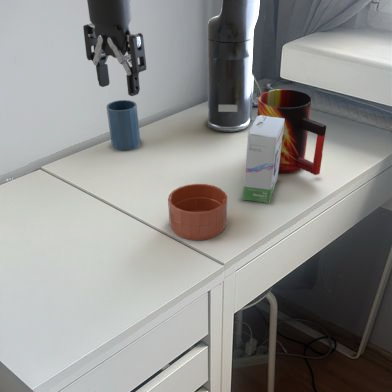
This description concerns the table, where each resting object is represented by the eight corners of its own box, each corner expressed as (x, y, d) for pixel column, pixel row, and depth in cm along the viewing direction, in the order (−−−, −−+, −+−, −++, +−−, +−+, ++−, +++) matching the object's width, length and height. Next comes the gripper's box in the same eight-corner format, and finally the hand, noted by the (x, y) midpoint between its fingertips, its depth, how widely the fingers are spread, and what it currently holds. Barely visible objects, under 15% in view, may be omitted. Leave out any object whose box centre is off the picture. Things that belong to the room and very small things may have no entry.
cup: (127, 136, 110) (122, 97, 104) (146, 143, 107) (142, 104, 102) (106, 145, 107) (100, 106, 101) (125, 153, 104) (120, 113, 98)
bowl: (196, 205, 89) (195, 178, 85) (237, 223, 84) (239, 195, 81) (158, 227, 84) (155, 199, 80) (200, 247, 79) (200, 219, 76)
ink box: (251, 178, 95) (255, 113, 87) (278, 181, 94) (285, 116, 86) (241, 200, 89) (245, 133, 81) (270, 204, 88) (277, 136, 80)
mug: (317, 181, 94) (327, 115, 85) (247, 168, 98) (250, 104, 89) (330, 160, 100) (341, 96, 91) (264, 149, 104) (268, 86, 96)
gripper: (151, -8, 86) (158, 93, 98) (97, -18, 93) (109, 78, 105) (119, -1, 82) (129, 103, 94) (64, -12, 89) (80, 87, 101)
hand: (118, 90), depth 99 cm, fingers open, 8 cm apart
